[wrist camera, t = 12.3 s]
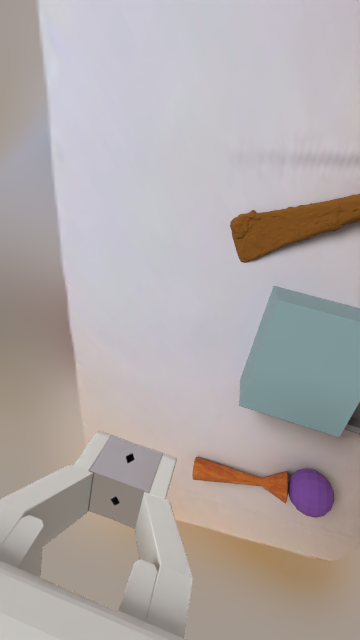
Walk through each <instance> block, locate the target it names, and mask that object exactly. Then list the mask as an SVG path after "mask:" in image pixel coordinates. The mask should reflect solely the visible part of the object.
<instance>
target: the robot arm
mask: <svg viewBox="0 0 360 640" xmlns="http://www.w3.org/2000/svg"><path fill="white" fill-rule="evenodd" d="M176 461H177V458H176V457H173V456H171V455H168V454H165V453H164V454H163V453H162V452H159V451H156V450H153V449H150V448H147V447H144V446H141V445H138V444H135V443H132V442H129V441H127V440H124V439H121V438H119V437H116V436H113V435H110V434H108V433H105V432H102V431H100V430H99V431H98V432H97V433H96V434H95V435H94V437H93V438H92V440H91V441H90V443H89V444H88V446H87V447H86V448H85V450H84V452H83V453H82V454H81V456H80V457H79V459H78V460H77V462H76V463H75V465H71V464H69V465H68V466H65V467H63V468H61V469H60V470H58V471H56V472H54V473H52V474H50V475H48V476H46V477H44V478H42V479H40V480H38V481H36V482H34V483H32V484H30V485H28V486H26V487H24V488H22V489H20V490H18V491H16V492H14V493H12V494H10V495H8V496H6V497H4V498H2V499H0V640H186V639H184V634H185V627H186V620H187V614H188V606H189V601H190V594H191V587H192V581H193V578H192V574H191V571H190V568H189V565H188V561H187V558H186V554H185V551H184V548H183V544H182V541H181V538H180V534H179V531H178V528H177V524H176V521H175V517H174V514H173V511H172V507H171V504H170V501H168V500H166V496H167V492H168V489H169V485H170V482H171V478H172V475H173V471H174V468H175V464H176ZM88 511H90V512H93V513H96V514H99V515H102V516H104V517H107V518H110V519H113V520H115V521H117V522H120V523H122V524H125V525H127V526H129V527H132V528H134V529H135V535H136V542H137V550H138V557H139V560H138V561H137V562H135V563H134V566H133V569H132V572H131V575H130V578H129V581H128V584H127V587H126V590H125V593H124V596H123V599H122V602H121V605H120V607H119V610H116V609H113V608H111V607H109V606H106V605H104V604H101V603H99V602H97V601H95V600H92V599H90V598H87V597H85V596H82V595H80V594H78V593H76V592H73V591H71V590H69V589H66V588H64V587H61V586H59V585H56V584H54V583H52V582H50V581H47V580H45V579H43V578H40V575H41V562H42V547H43V546H44V545H46V544H47V543H48V542H50V541H51V540H52V539H53V538H55V537H56V536H57V535H59V534H60V533H61V532H63V531H64V530H65V529H66V528H68V527H69V526H70V525H72V524H73V523H74V522H76V521H77V520H78V519H80V518H81V517H82V516H83V515H85V514H86V513H87V512H88Z"/></svg>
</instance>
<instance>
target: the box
mask: <svg viewBox="0 0 360 640" xmlns="http://www.w3.org/2000/svg"><path fill="white" fill-rule="evenodd" d="M344 429H346V430H349V431H353V432H356V433H359V434H360V402H359V404H358V406H357V407H356V409H355V411H354V413H353V414H352V416H351V418H350V420H349V421H348V423H347V425H346V427H345V428H344Z"/></svg>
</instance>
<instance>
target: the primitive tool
mask: <svg viewBox="0 0 360 640" xmlns="http://www.w3.org/2000/svg"><path fill="white" fill-rule="evenodd" d="M359 220H360V194H357V195H351V196H348V197H344V198H339V199H333V200H330V201H325V202H320V203H314V204H309V205H300V206H298V207H288V208H287V209H282V210H275V211H270V212H262V213H256V211H254V210H252V211H251V212H250V213H248V214H240V215H239V216H238V217H236V218H234V219H233V220H232V221H231V224H230V227H231V230H232V236H233V240H234V243H235V247H236V250H237V253H238V256H239V259H240V261H241V262H249V261H251V260H253V259H256V258H258V257H261V256H263V255H266V254H268V253H270V252H272V251H274V250H276V249H278V248H281V247H283V246H286V245H289V244H291V243H294V242H299V241H301V240H305V239H308V238H310V237H312V236H315V235H317V234H320V233H323V232H327V231H332V230H333V231H335V230H337V229H340V228H341V227H342V226H344V225H346V224H349V223H353V222H357V221H359Z"/></svg>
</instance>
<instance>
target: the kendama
mask: <svg viewBox="0 0 360 640" xmlns="http://www.w3.org/2000/svg"><path fill="white" fill-rule="evenodd" d="M193 480H203V481H214V482H224V483H235V484H246V485H256V486H262V487H263V488H265V489H266V490H268V491H269V492H270V493H272V494H273V495H275V496H276V497H277V498H279V499H280V500H282V501H283V502H284V503H286V502H287V496H288V493H289V496H290V499H291V502H292V503H293V504H294V505H295V507H296V508H297V509H298V510H299V511H300V512H302V513H303V514H305V515H307V516H311V517H315V518H316V517H320V516H324V515H325V514H326V513H328V512H329V511H330V510H331V508H332V505H333V502H334V493H333V490H332V487H331V485H330V483H329V482H328V480H327V479H326V478H325V477H324V476H323V475H322V474H320V473H318V472H317V471H315V470H310V469H302V470H298V471H296V472H295V473H294V474H293V475H292V476H291V478H290V480H289V482H288V476H287V471H286V472H282V473H278V474H275V475H271V476H267V477H263V478H261V477H257V476H254V475H251V474H248V473H245V472H242V471H239V470H236V469H233V468H230V467H227V466H223V465H220V464H217V463H214V462H211V461H208V460H205V459H202V458H199V457H196V459H195V462H194V466H193Z"/></svg>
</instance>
